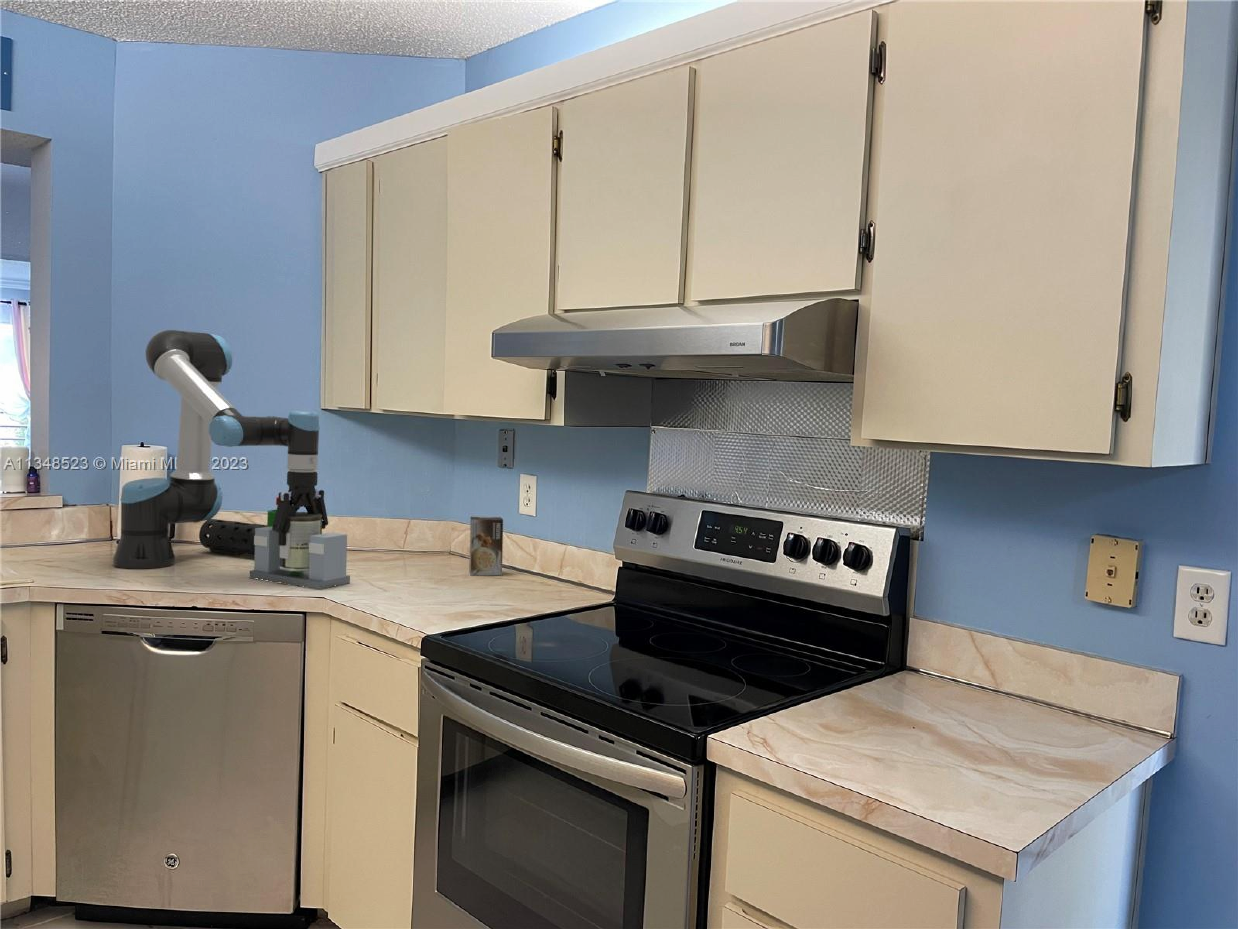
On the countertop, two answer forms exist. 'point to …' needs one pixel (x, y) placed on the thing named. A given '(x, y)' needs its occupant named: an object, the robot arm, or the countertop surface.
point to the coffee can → (301, 540)
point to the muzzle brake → (229, 536)
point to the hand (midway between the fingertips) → (300, 555)
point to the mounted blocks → (323, 550)
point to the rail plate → (297, 578)
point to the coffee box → (486, 546)
